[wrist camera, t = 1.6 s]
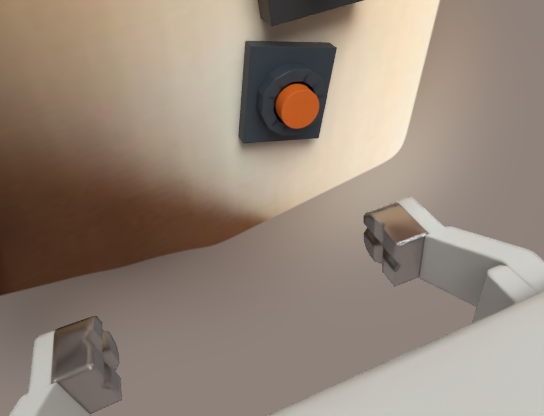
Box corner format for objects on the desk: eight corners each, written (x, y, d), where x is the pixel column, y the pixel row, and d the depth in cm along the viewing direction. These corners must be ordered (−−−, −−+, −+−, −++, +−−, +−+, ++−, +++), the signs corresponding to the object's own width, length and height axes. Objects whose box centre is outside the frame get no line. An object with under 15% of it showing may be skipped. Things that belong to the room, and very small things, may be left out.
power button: (277, 83, 39) (284, 90, 38) (315, 82, 40) (322, 89, 39) (272, 122, 41) (279, 129, 40) (308, 120, 43) (315, 127, 41)
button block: (245, 40, 39) (257, 52, 36) (329, 42, 42) (345, 53, 39) (238, 136, 45) (248, 151, 42) (312, 131, 48) (325, 145, 45)
